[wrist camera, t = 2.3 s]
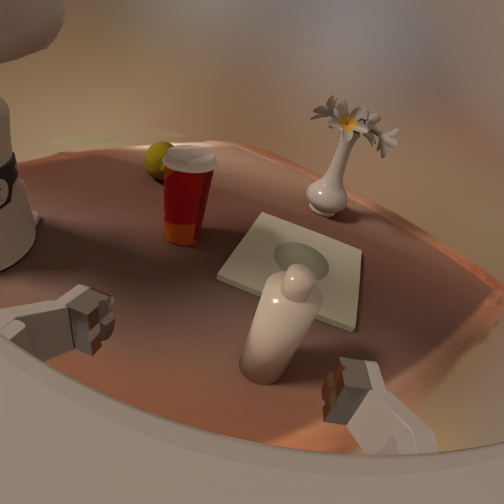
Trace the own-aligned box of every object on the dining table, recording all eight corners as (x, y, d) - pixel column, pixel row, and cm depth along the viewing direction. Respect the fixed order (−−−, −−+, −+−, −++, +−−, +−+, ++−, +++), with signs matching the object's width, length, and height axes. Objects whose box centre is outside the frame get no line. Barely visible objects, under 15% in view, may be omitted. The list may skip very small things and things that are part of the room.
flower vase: (369, 230, 62) (413, 126, 48) (293, 220, 58) (332, 97, 43) (346, 200, 72) (380, 109, 57) (278, 190, 68) (307, 86, 53)
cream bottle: (232, 373, 30) (262, 281, 21) (248, 340, 34) (280, 246, 25) (275, 391, 29) (327, 306, 21) (287, 356, 33) (335, 267, 25)
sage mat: (216, 279, 41) (217, 273, 40) (260, 216, 57) (262, 211, 56) (351, 332, 38) (355, 327, 37) (359, 254, 54) (361, 249, 53)
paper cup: (187, 217, 51) (197, 141, 43) (215, 240, 48) (230, 158, 39) (148, 230, 46) (152, 148, 38) (174, 257, 43) (182, 167, 34)
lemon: (180, 188, 59) (184, 152, 54) (142, 188, 56) (144, 151, 52) (177, 167, 67) (180, 136, 62) (144, 167, 64) (146, 134, 59)
